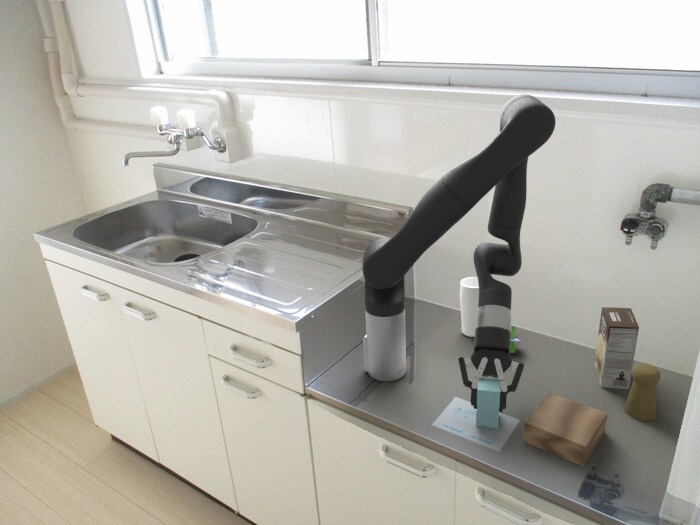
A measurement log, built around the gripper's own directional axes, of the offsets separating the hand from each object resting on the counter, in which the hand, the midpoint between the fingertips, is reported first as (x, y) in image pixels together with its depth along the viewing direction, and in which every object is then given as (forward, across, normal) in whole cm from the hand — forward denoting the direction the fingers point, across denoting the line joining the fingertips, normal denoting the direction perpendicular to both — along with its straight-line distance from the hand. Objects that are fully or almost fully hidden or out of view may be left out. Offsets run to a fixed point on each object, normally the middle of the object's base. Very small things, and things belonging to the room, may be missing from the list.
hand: (488, 409), depth 122 cm
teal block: (+2, 0, +4) cm, 5 cm away
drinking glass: (-24, -6, +30) cm, 39 cm away
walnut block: (+4, +15, +3) cm, 16 cm away
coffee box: (-13, +27, +19) cm, 36 cm away
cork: (-5, +31, +11) cm, 33 cm away
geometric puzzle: (-19, +3, +25) cm, 31 cm away
